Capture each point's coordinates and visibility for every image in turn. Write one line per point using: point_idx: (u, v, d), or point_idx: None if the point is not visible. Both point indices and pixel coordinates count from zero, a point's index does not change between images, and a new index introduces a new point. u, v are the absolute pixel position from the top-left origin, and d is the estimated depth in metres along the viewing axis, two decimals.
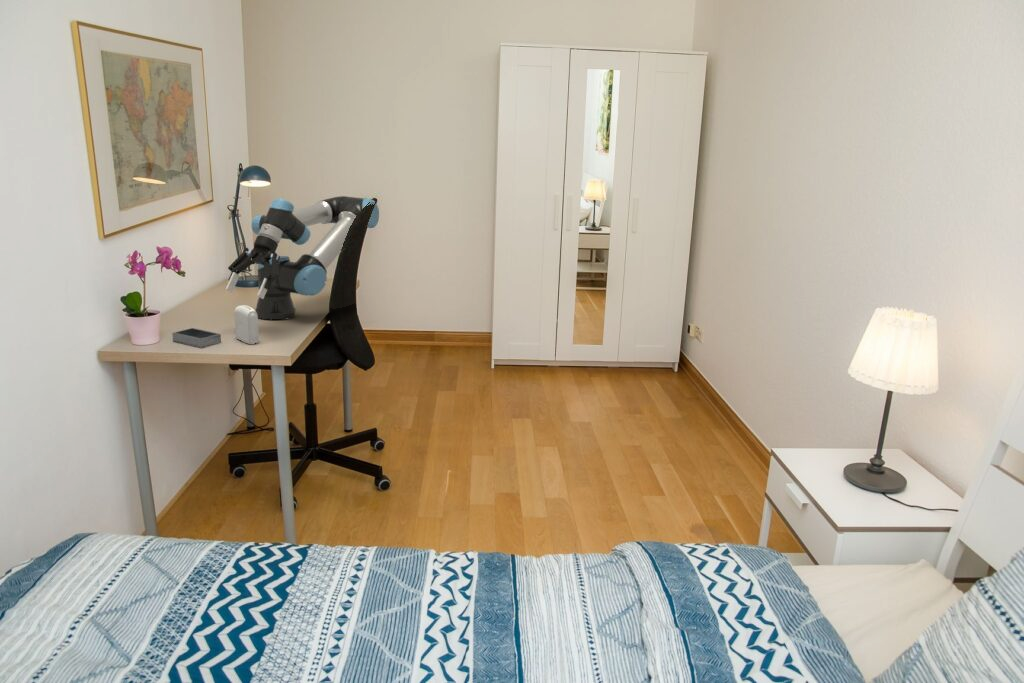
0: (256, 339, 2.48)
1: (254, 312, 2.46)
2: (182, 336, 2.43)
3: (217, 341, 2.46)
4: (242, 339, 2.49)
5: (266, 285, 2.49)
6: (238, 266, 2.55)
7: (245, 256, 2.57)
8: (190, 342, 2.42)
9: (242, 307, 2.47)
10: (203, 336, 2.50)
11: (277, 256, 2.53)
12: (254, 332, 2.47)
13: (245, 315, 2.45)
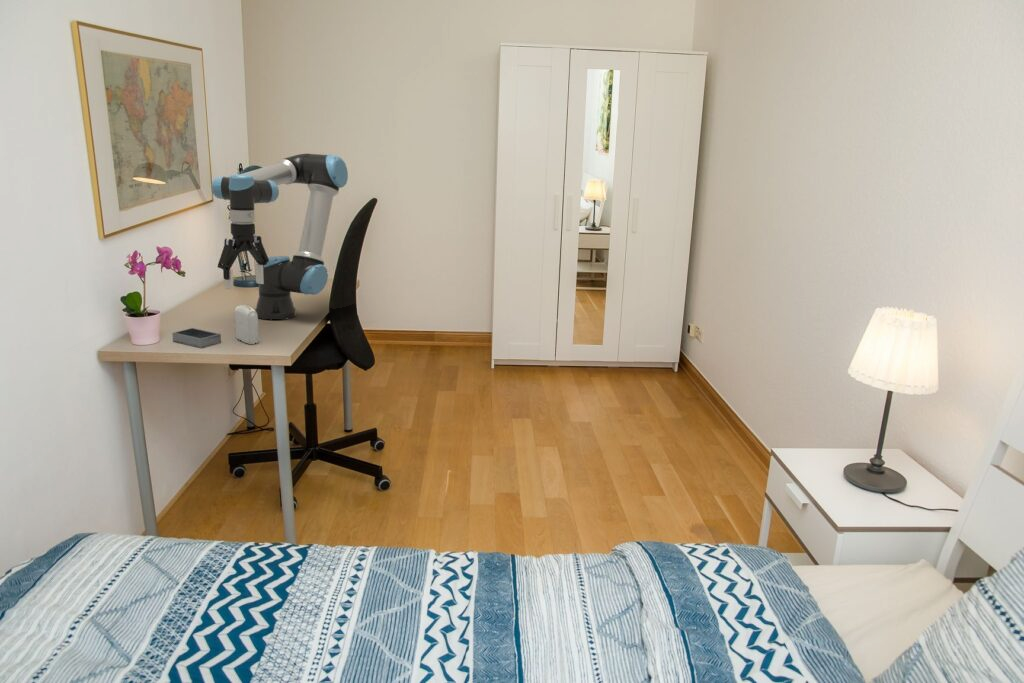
0: (256, 339, 2.48)
1: (254, 312, 2.46)
2: (182, 336, 2.43)
3: (217, 341, 2.46)
4: (242, 339, 2.49)
5: (263, 271, 2.52)
6: (232, 262, 2.38)
7: None
8: (190, 342, 2.42)
9: (242, 307, 2.47)
10: (203, 336, 2.50)
11: None
12: (254, 332, 2.47)
13: (245, 315, 2.45)
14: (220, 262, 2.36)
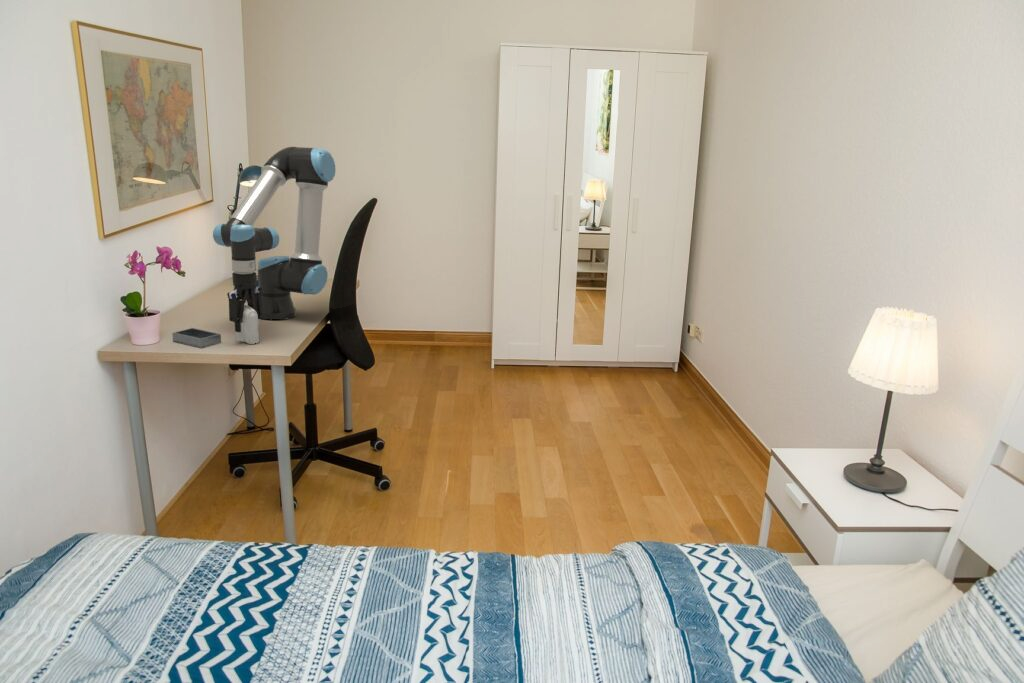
0: (256, 339, 2.48)
1: (254, 312, 2.46)
2: (182, 336, 2.43)
3: (217, 341, 2.46)
4: None
5: None
6: (241, 314, 2.45)
7: None
8: (190, 342, 2.42)
9: None
10: (203, 336, 2.50)
11: None
12: (254, 332, 2.47)
13: (245, 315, 2.45)
14: (230, 316, 2.43)
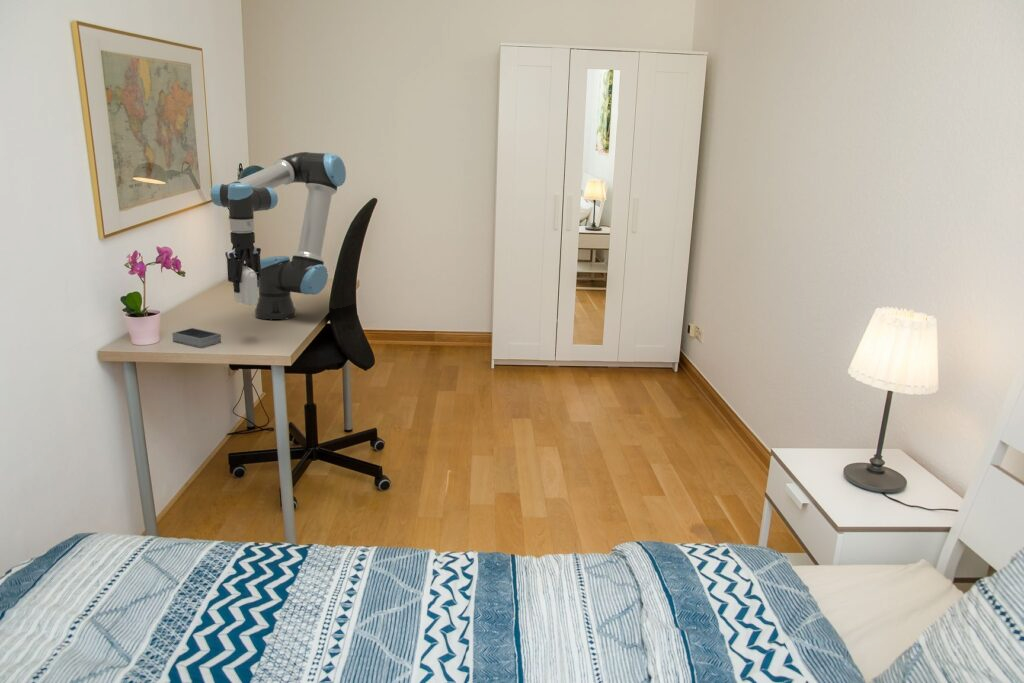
0: (256, 300, 2.45)
1: (253, 272, 2.42)
2: (182, 336, 2.43)
3: (217, 341, 2.46)
4: None
5: None
6: (240, 274, 2.42)
7: None
8: (190, 342, 2.42)
9: None
10: (203, 336, 2.50)
11: None
12: (254, 293, 2.44)
13: (244, 276, 2.42)
14: (229, 276, 2.40)
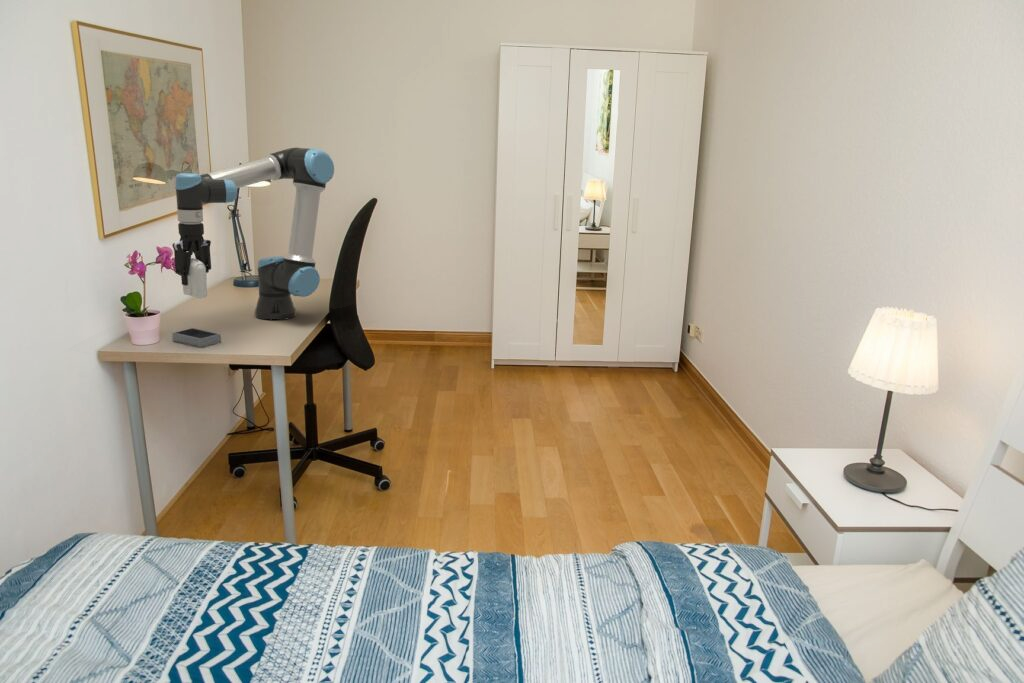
0: (204, 293, 2.40)
1: (202, 264, 2.37)
2: (182, 336, 2.43)
3: (217, 341, 2.46)
4: None
5: None
6: (188, 266, 2.36)
7: None
8: (190, 342, 2.42)
9: None
10: (203, 336, 2.50)
11: None
12: (202, 286, 2.38)
13: (192, 268, 2.36)
14: (176, 268, 2.34)
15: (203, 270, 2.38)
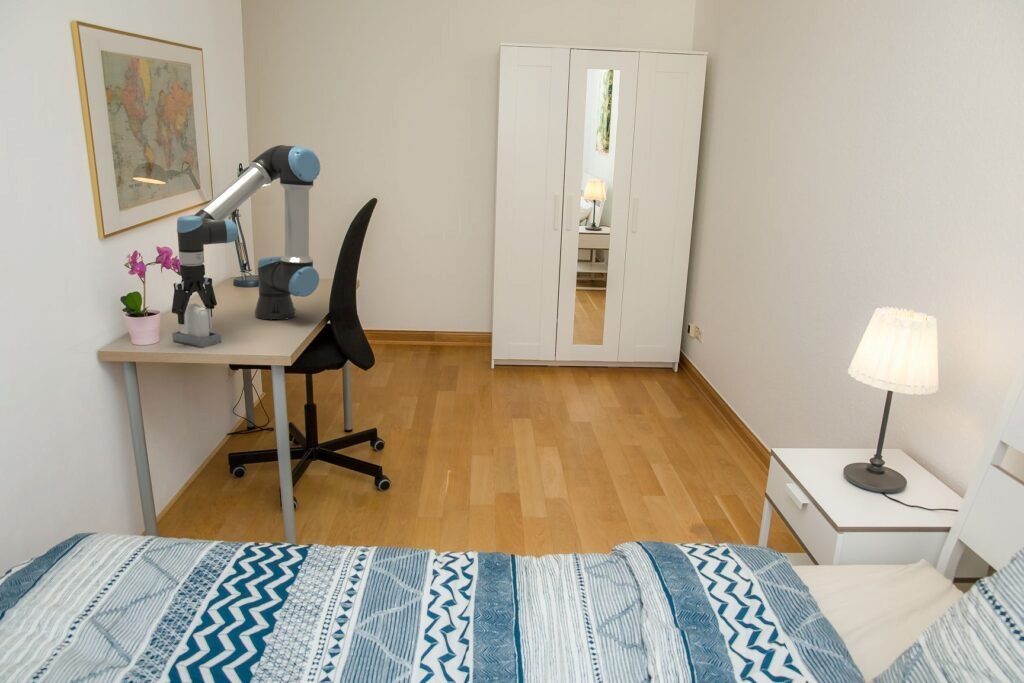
0: None
1: (204, 310, 2.42)
2: (182, 336, 2.43)
3: (217, 341, 2.46)
4: None
5: (211, 314, 2.49)
6: (185, 306, 2.39)
7: None
8: (190, 342, 2.42)
9: (192, 305, 2.43)
10: None
11: None
12: (205, 331, 2.43)
13: (195, 314, 2.41)
14: (173, 308, 2.36)
15: (206, 316, 2.42)
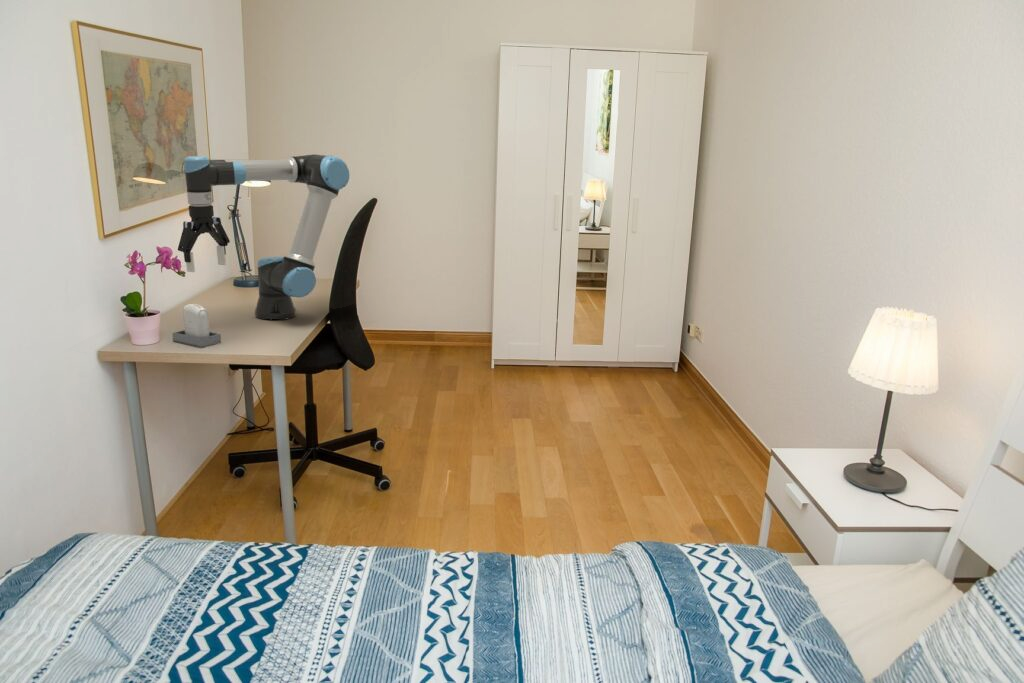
0: None
1: (204, 310, 2.42)
2: (182, 336, 2.43)
3: (217, 341, 2.46)
4: None
5: None
6: (192, 244, 2.39)
7: None
8: (190, 342, 2.42)
9: (191, 306, 2.43)
10: None
11: None
12: (205, 331, 2.43)
13: (195, 314, 2.41)
14: (180, 245, 2.37)
15: (205, 316, 2.42)
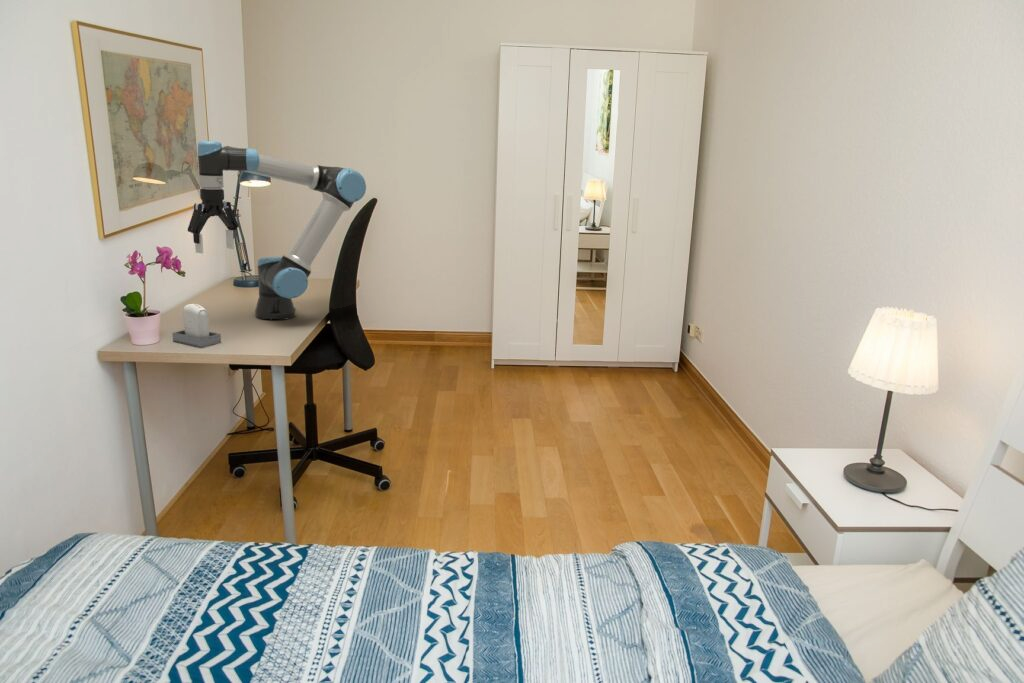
0: None
1: (204, 310, 2.42)
2: (182, 336, 2.43)
3: (217, 341, 2.46)
4: None
5: (233, 236, 2.59)
6: (202, 226, 2.45)
7: None
8: (190, 342, 2.42)
9: (191, 306, 2.43)
10: None
11: None
12: (205, 331, 2.43)
13: (195, 314, 2.41)
14: (190, 226, 2.43)
15: (205, 316, 2.42)
